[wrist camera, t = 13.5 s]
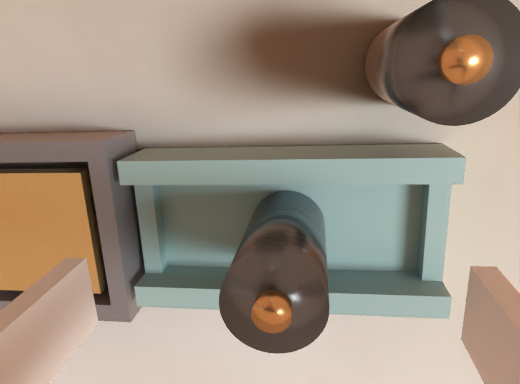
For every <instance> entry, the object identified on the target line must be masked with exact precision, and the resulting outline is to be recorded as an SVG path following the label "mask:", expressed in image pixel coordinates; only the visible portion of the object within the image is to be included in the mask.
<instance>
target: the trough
mask: <svg viewBox="0 0 520 384" xmlns="http://www.w3.org/2000/svg"><path fill="white" fill-rule="evenodd" d="M465 162H466V157H464V156H462V155H461V154H459V153H457V152H456V151H454V150H452V149H451V148H449V147H447V146H446V145H444V144H381V145H316V146H251V147H187V148H144V149H142V150H140V151H138V152H136V153H134V154H132V155H129V156H127V157H125V158H123V159H121V160H119V161H117V167H118V174H119V181H120V185H134V189H135V197H136V205H137V212H138V220H139V228H140V235H141V243H142V250H143V258H144V266H145V274H144V276H143V277H142V278H141V279H140V280H139V282H138V283H137V284H136V285H135V286H134V288H135V295H136V302H137V306H139V307H165V308H190V309H215V310H220V308H219V293H220V289H221V286H222V284H223V282H224V279H225V277H226V275H227V272H228V270H229V268H230V265H231V263H232V261H233V259H234V256H235V254H236V252H237V249H238V247H239V245H240V242H241V240H242V238H243V236H244V233H245V231H246V229H247V226H248V224H249V222H250V219H251V217H252V215H253V213H254V210H255V208H256V207H257V205H258V204H259V203H260V201H261V200H263V199H264V198H265V197H266V196H268V195H270V194H272V193H275V192H278V191H284V190H290V191H296V192H300V193H302V194H305V195H306V196H308V197H310V198H311V199H312V200H313V201H314V202H315V203H316V204H317V205H318V206H319V208H320V210H321V211H322V214H323V216H324V221H325V236H326V254H327V272H328V290H329V314H341V315H366V316H391V317H416V318H442V319H449V314H450V304H451V296H450V294H449V292H448V291H447V289H446V287H445V286H444V284H443V282H442V278H443V268H444V257H445V247H446V237H447V226H448V216H449V206H450V195H451V185H452V184H463V181H464V171H465Z"/></svg>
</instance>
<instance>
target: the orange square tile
mask: <svg viewBox="0 0 520 384" xmlns="http://www.w3.org/2000/svg"><path fill="white" fill-rule="evenodd" d="M67 257H69V258H86V259H87V264H88V270H89V275H90V280H91V285H92V291H93V293H99V294H101V293H102V292H103V291H104V290H105V288H106V287H107V286H108V284H107V278H106V271H105V265H104V259H103V253H102V246H101V240H100V234H99V228H98V222H97V215H96V209H95V203H94V197H93V191H92V184H91V178H90V172H89V168H60V169H0V290H15V291H25V290H27V289H28V288H29V287H30V286H32V285H33V284H34V283H35V282H37V281H38V280H39V279H40V278H42V277H43V276H44V275H45V274H47V273H48V272H49V271H50V270H52V269H53V268H54V267H55V266H57V265H58V264H59V263H60V262H62V261H63V260H64V259H65V258H67Z"/></svg>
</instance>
